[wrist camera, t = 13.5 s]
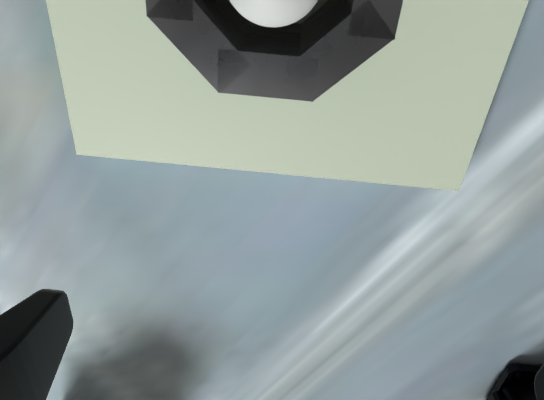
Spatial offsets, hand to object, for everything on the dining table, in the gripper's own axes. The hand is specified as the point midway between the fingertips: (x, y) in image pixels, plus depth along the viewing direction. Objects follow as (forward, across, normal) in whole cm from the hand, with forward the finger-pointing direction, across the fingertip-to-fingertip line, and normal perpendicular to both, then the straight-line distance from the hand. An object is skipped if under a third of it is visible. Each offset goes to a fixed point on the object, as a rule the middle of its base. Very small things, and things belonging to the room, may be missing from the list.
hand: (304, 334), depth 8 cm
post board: (+12, +2, -6) cm, 13 cm away
